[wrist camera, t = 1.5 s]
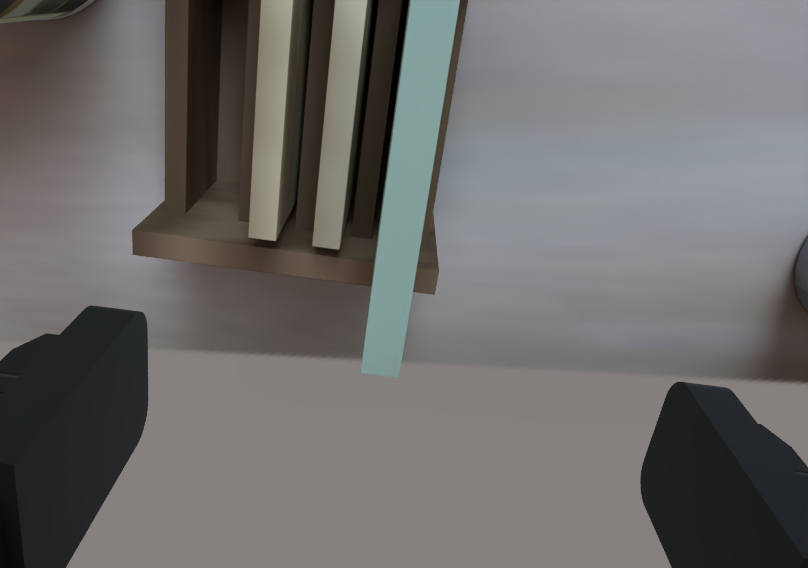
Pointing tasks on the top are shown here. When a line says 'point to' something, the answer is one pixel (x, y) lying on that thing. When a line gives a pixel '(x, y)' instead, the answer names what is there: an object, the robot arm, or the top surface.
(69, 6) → the coffee can
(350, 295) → the top surface
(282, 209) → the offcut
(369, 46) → the board
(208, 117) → the rack
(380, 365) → the tall sheet
